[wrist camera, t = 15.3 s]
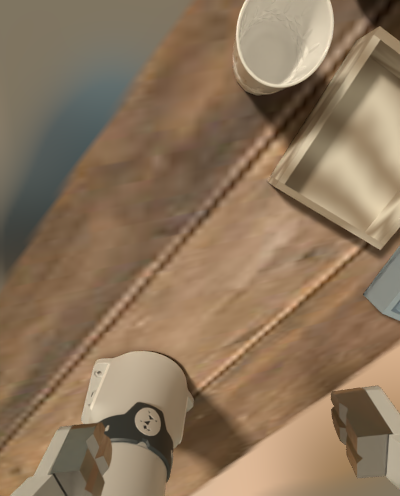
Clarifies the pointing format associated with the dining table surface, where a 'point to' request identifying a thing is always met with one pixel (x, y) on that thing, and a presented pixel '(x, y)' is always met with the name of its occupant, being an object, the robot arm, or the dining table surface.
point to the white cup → (280, 43)
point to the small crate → (387, 288)
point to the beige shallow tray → (352, 145)
